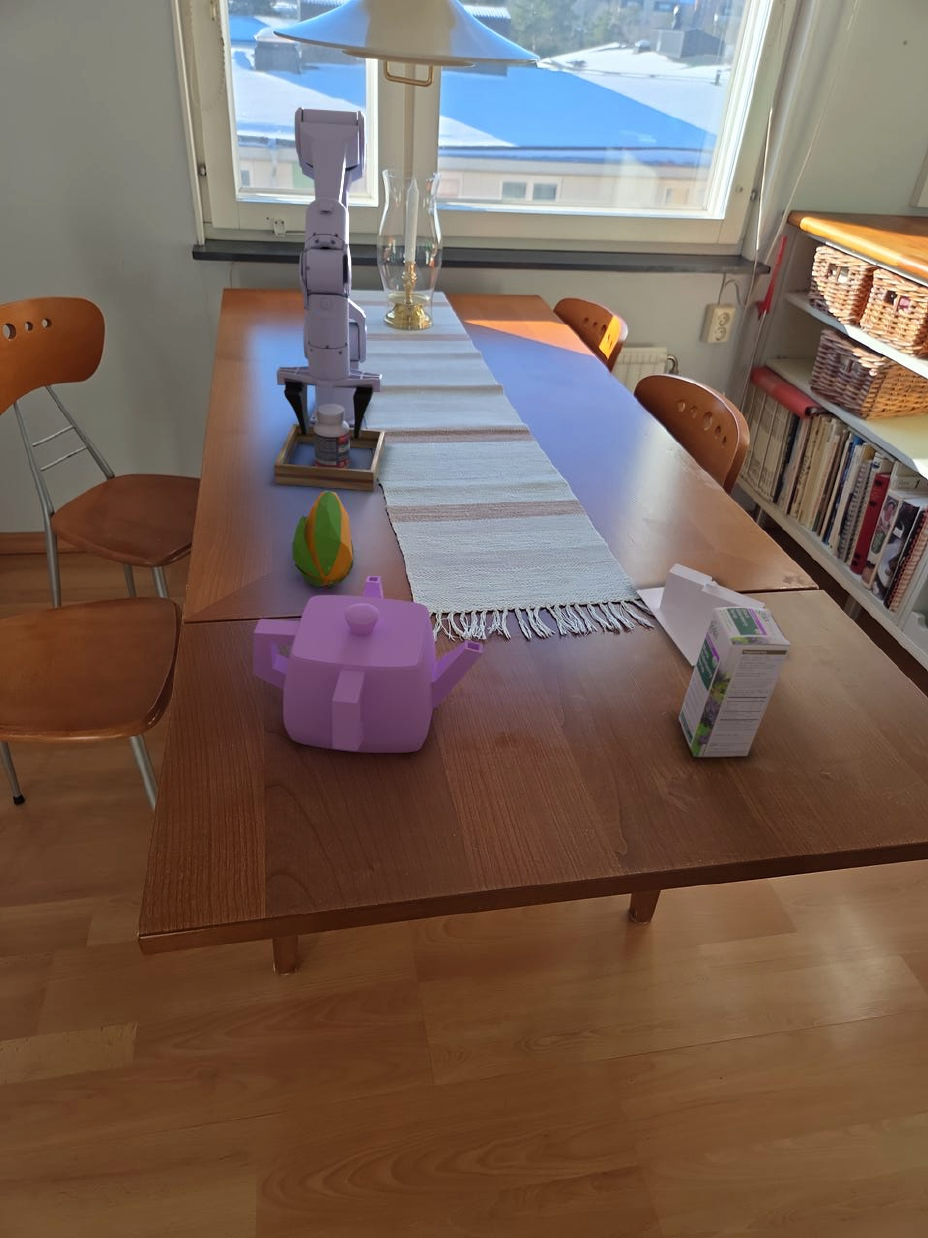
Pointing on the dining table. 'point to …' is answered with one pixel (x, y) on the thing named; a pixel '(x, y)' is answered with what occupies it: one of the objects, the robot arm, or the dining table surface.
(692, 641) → the napkin holder
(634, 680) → the dining table surface
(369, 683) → the teakettle
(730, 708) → the syrup box
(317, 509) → the corn
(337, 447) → the pill bottle
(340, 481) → the picture frame
